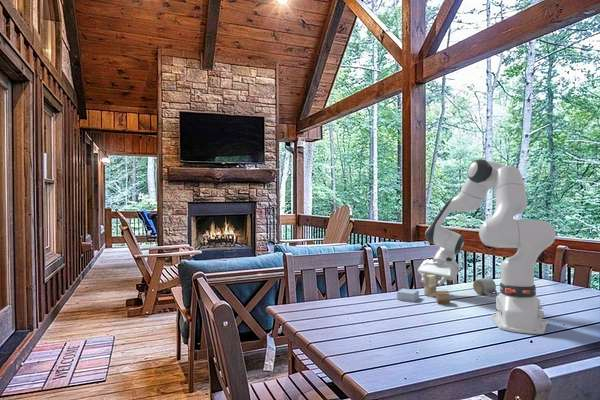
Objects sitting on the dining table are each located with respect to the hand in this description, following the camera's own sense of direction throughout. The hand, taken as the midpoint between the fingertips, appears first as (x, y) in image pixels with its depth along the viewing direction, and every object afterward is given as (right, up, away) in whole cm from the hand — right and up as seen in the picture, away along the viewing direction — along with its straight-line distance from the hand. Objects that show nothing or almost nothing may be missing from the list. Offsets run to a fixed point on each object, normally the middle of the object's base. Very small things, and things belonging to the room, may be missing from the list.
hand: (430, 283), depth 186 cm
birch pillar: (0, -6, 0) cm, 6 cm away
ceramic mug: (+28, -6, 0) cm, 29 cm away
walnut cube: (+1, -6, -14) cm, 15 cm away
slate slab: (-13, -7, -5) cm, 15 cm away
